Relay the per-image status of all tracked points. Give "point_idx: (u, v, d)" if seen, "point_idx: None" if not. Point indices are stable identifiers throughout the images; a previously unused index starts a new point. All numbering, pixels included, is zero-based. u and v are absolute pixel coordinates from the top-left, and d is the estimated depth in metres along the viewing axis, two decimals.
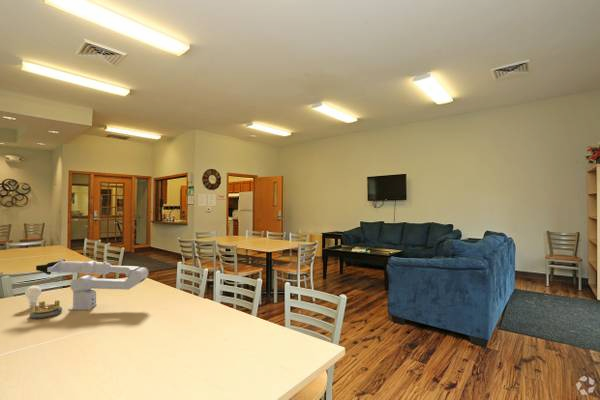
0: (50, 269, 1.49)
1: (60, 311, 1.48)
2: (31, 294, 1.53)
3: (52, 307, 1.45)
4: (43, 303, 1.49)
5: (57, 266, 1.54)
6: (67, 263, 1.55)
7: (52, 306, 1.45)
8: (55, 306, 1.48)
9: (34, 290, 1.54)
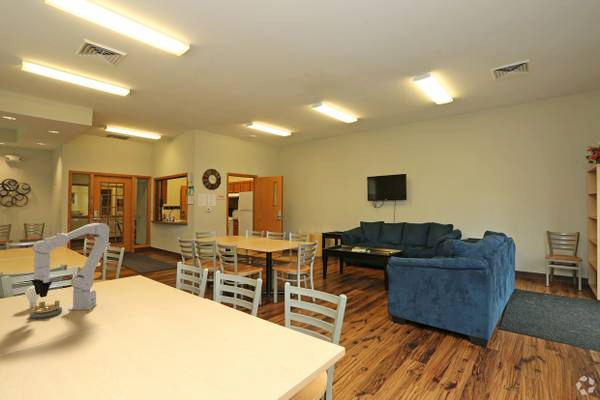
0: (46, 279, 1.38)
1: (60, 311, 1.48)
2: (31, 294, 1.53)
3: (52, 307, 1.45)
4: (43, 303, 1.49)
5: (41, 277, 1.40)
6: (37, 268, 1.40)
7: (52, 306, 1.45)
8: (55, 306, 1.48)
9: (34, 290, 1.54)
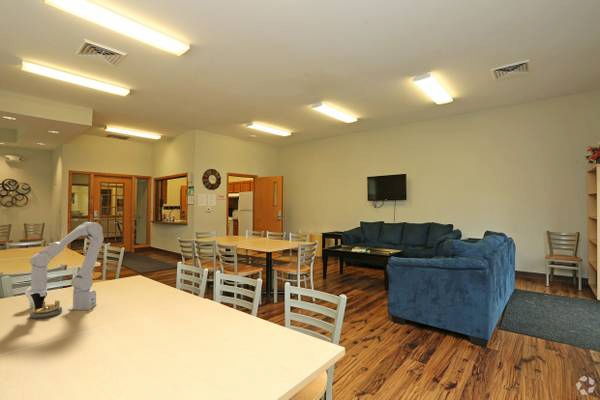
0: (43, 292, 1.38)
1: (60, 311, 1.48)
2: None
3: (52, 307, 1.45)
4: (43, 303, 1.49)
5: (38, 290, 1.40)
6: (34, 282, 1.40)
7: (52, 306, 1.45)
8: (55, 306, 1.48)
9: None
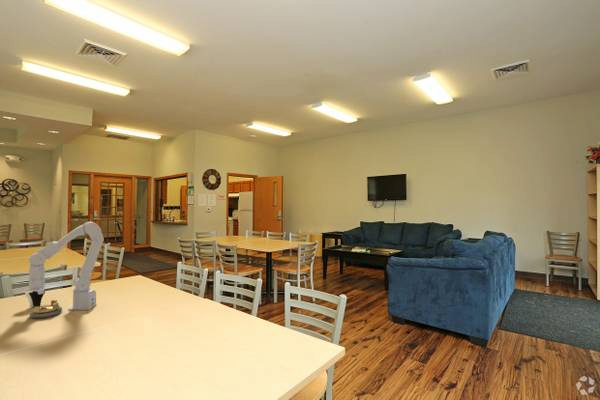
0: (41, 290, 1.41)
1: (60, 311, 1.48)
2: None
3: (37, 309, 1.42)
4: (53, 302, 1.50)
5: (36, 288, 1.43)
6: (32, 280, 1.43)
7: (37, 308, 1.42)
8: (48, 309, 1.44)
9: None
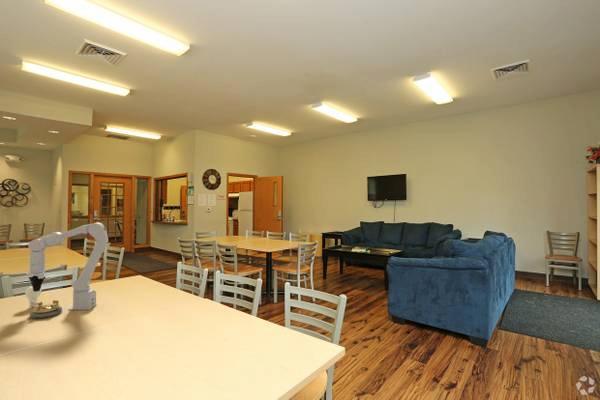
0: (41, 275, 1.45)
1: (60, 311, 1.48)
2: (31, 294, 1.53)
3: (35, 309, 1.42)
4: (55, 302, 1.50)
5: (36, 273, 1.47)
6: (32, 265, 1.47)
7: (35, 308, 1.42)
8: (46, 309, 1.44)
9: None
